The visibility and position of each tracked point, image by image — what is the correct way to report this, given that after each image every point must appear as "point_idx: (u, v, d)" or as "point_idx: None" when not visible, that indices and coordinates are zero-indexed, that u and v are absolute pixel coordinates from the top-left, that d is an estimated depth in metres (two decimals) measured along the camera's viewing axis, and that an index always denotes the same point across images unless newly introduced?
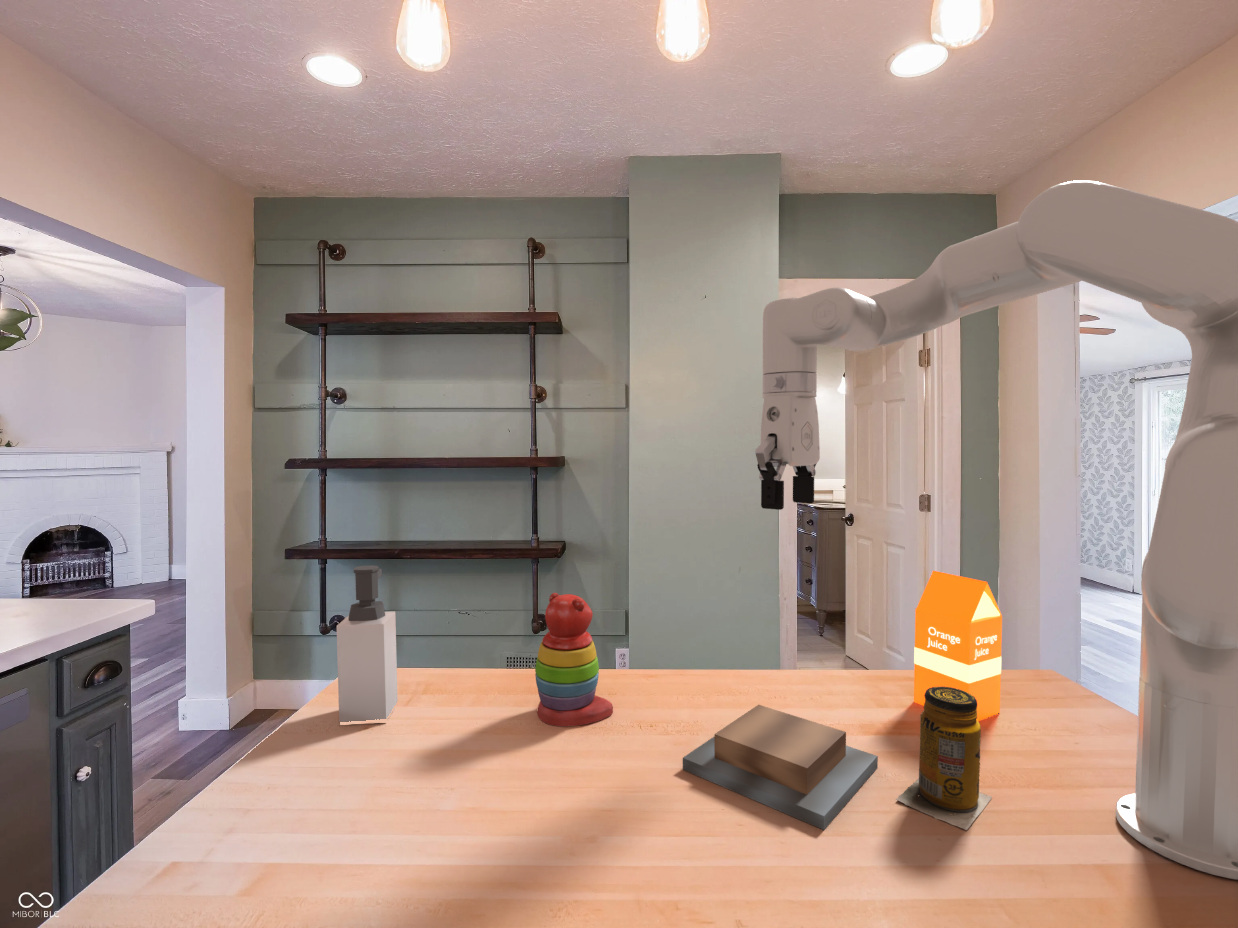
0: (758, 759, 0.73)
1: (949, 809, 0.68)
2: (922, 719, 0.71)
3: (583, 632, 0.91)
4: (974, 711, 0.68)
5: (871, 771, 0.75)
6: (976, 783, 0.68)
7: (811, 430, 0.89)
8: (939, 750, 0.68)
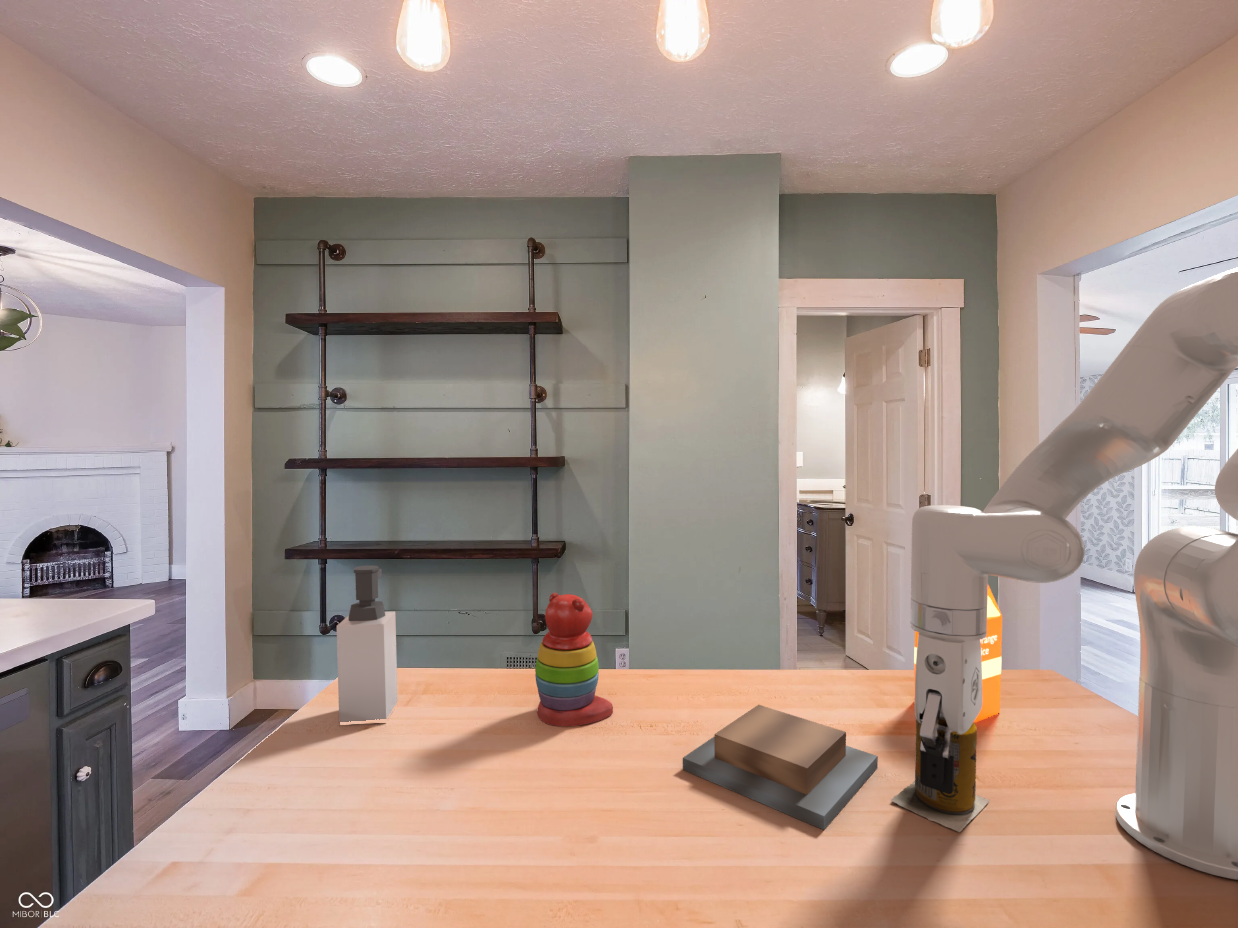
0: (758, 759, 0.73)
1: (944, 811, 0.68)
2: None
3: (583, 632, 0.91)
4: None
5: (871, 771, 0.75)
6: (972, 785, 0.68)
7: (978, 674, 0.69)
8: None
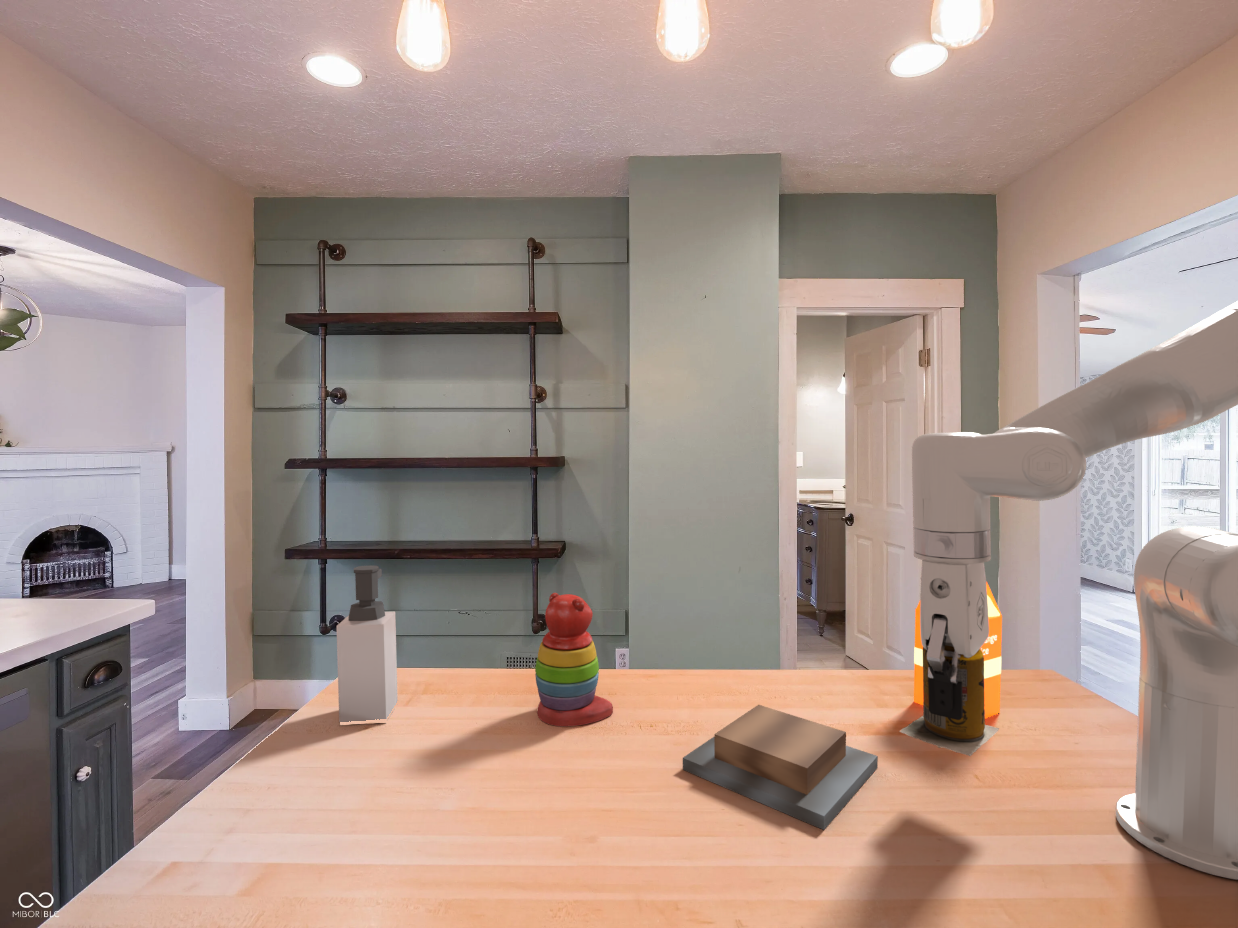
0: (758, 759, 0.73)
1: (953, 739, 0.67)
2: (924, 650, 0.70)
3: (583, 632, 0.91)
4: None
5: (871, 771, 0.75)
6: (981, 712, 0.67)
7: (983, 600, 0.68)
8: None
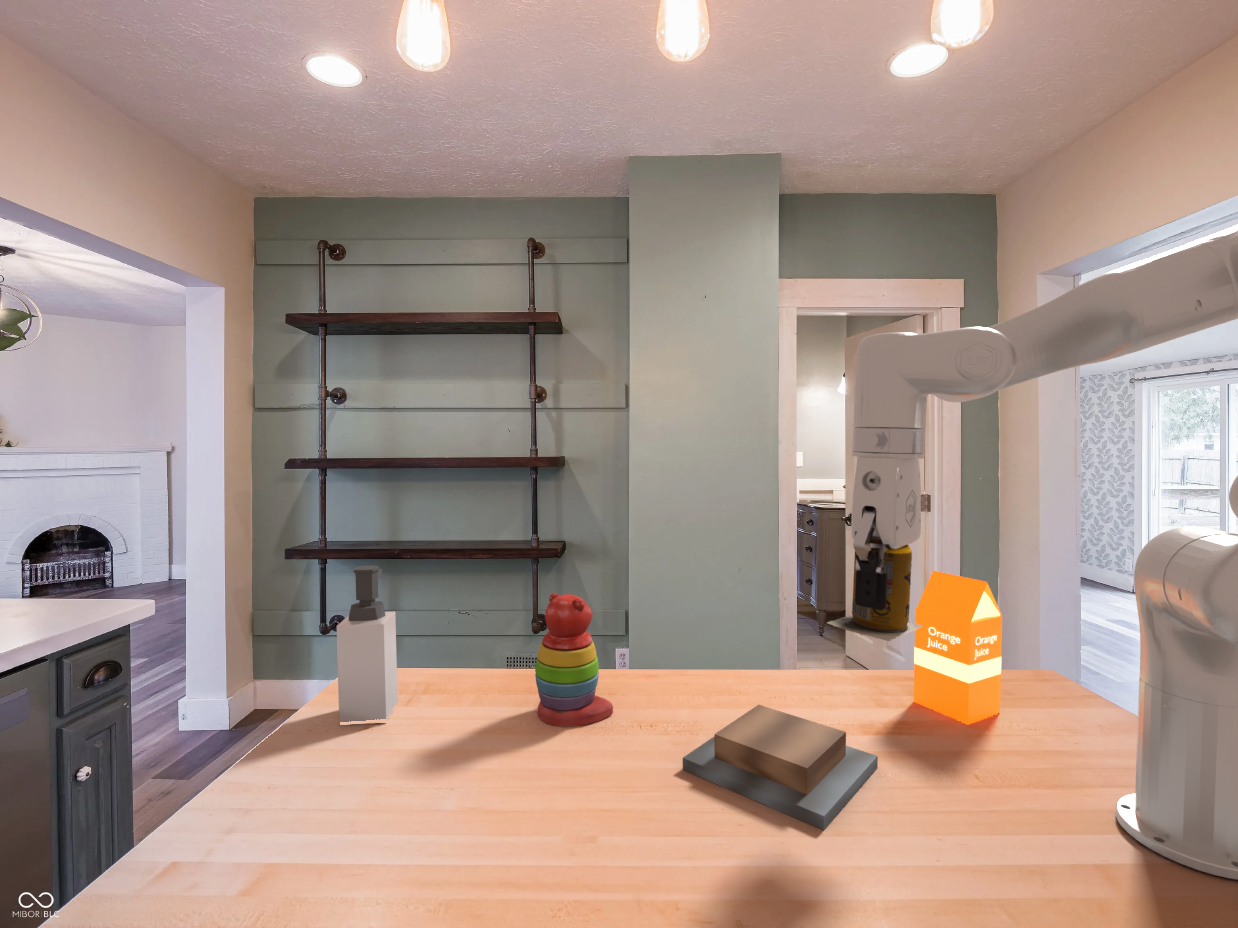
0: (758, 759, 0.73)
1: (876, 630, 0.69)
2: None
3: (583, 632, 0.91)
4: None
5: (871, 771, 0.75)
6: (905, 605, 0.69)
7: (915, 499, 0.70)
8: None
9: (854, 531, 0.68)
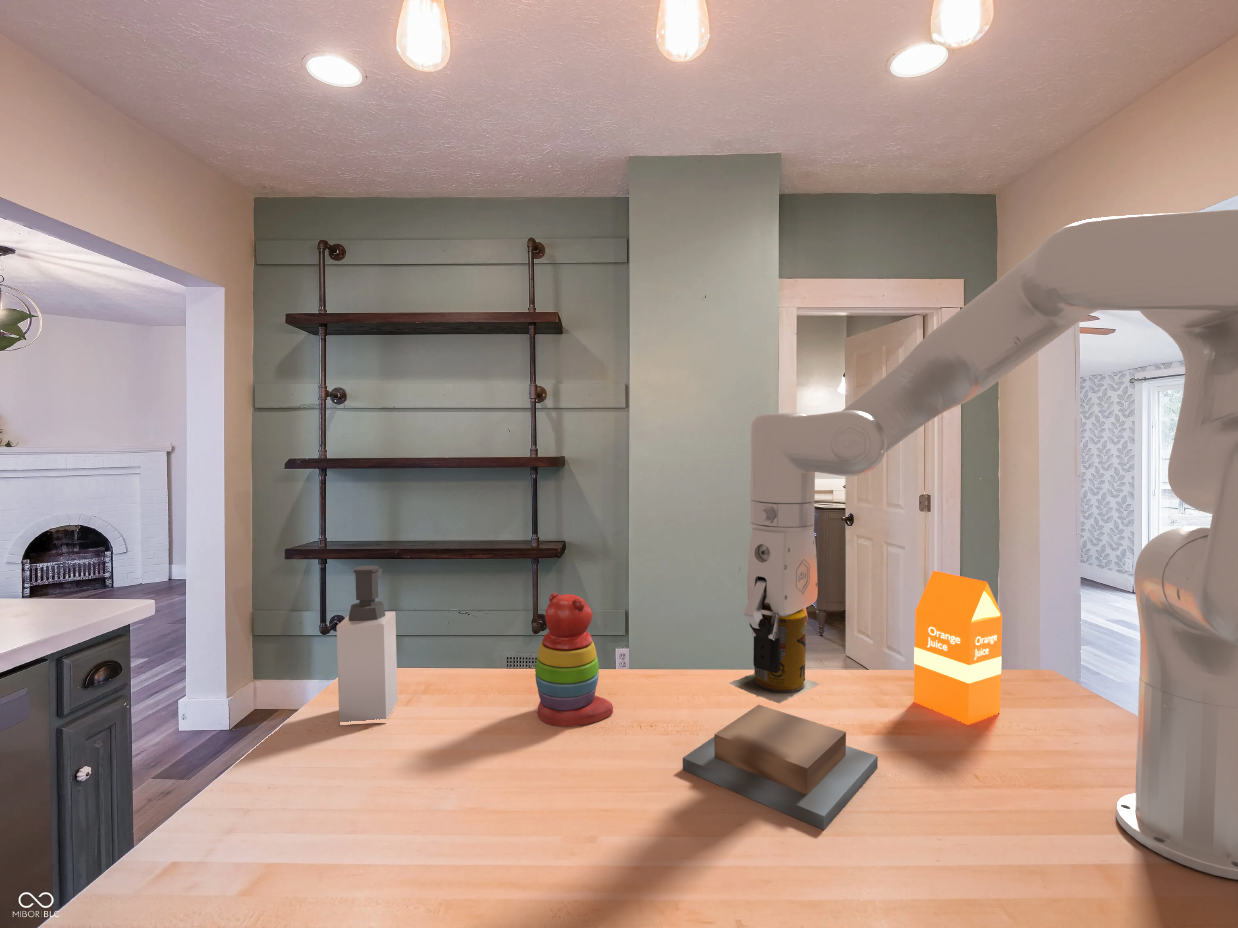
0: (758, 759, 0.73)
1: (773, 690, 0.74)
2: None
3: (583, 632, 0.91)
4: None
5: (871, 771, 0.75)
6: (799, 667, 0.74)
7: (808, 567, 0.75)
8: None
9: (749, 599, 0.73)
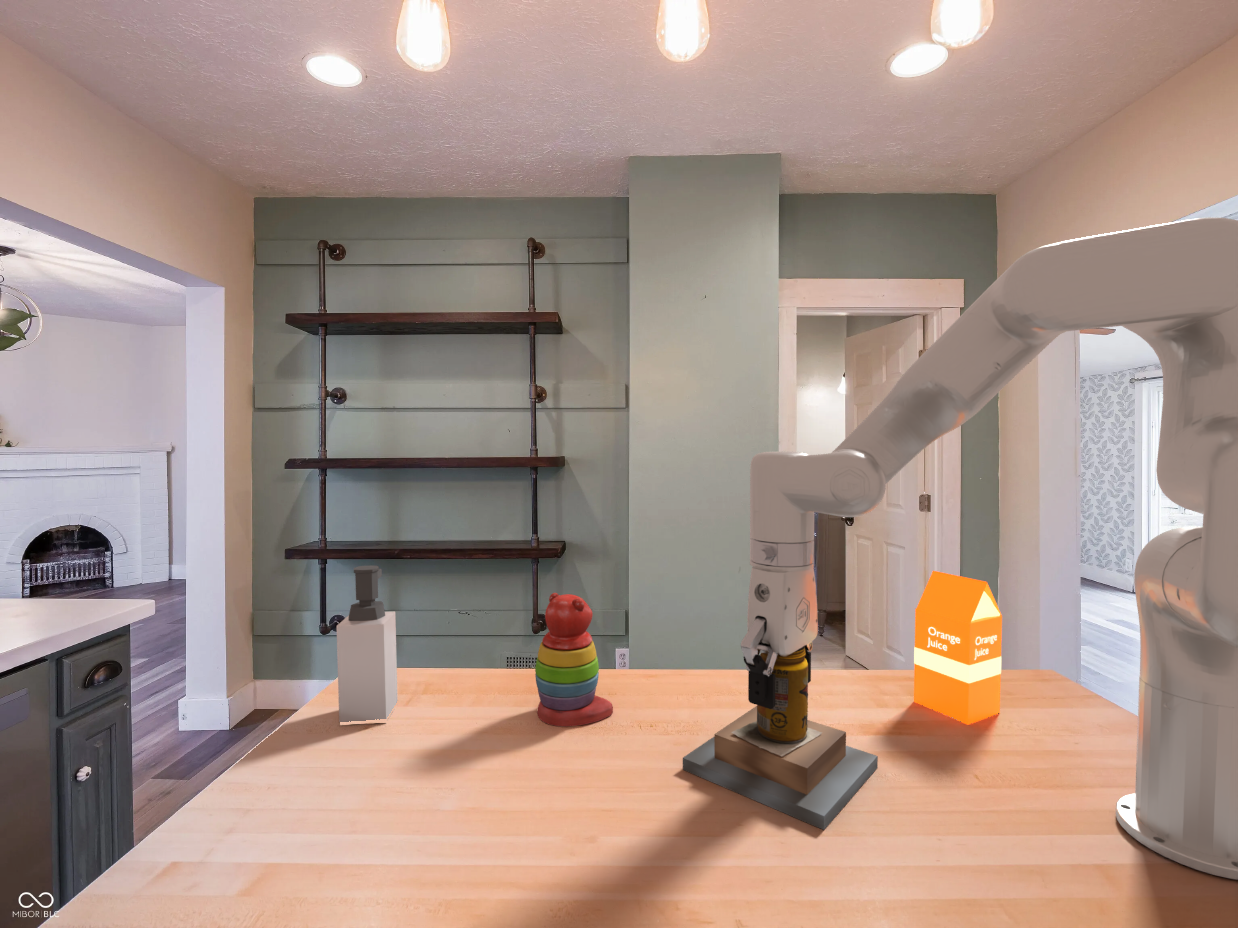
0: (758, 759, 0.73)
1: (775, 741, 0.74)
2: None
3: (583, 632, 0.91)
4: (799, 651, 0.74)
5: (871, 771, 0.75)
6: (801, 717, 0.74)
7: (808, 604, 0.75)
8: None
9: None
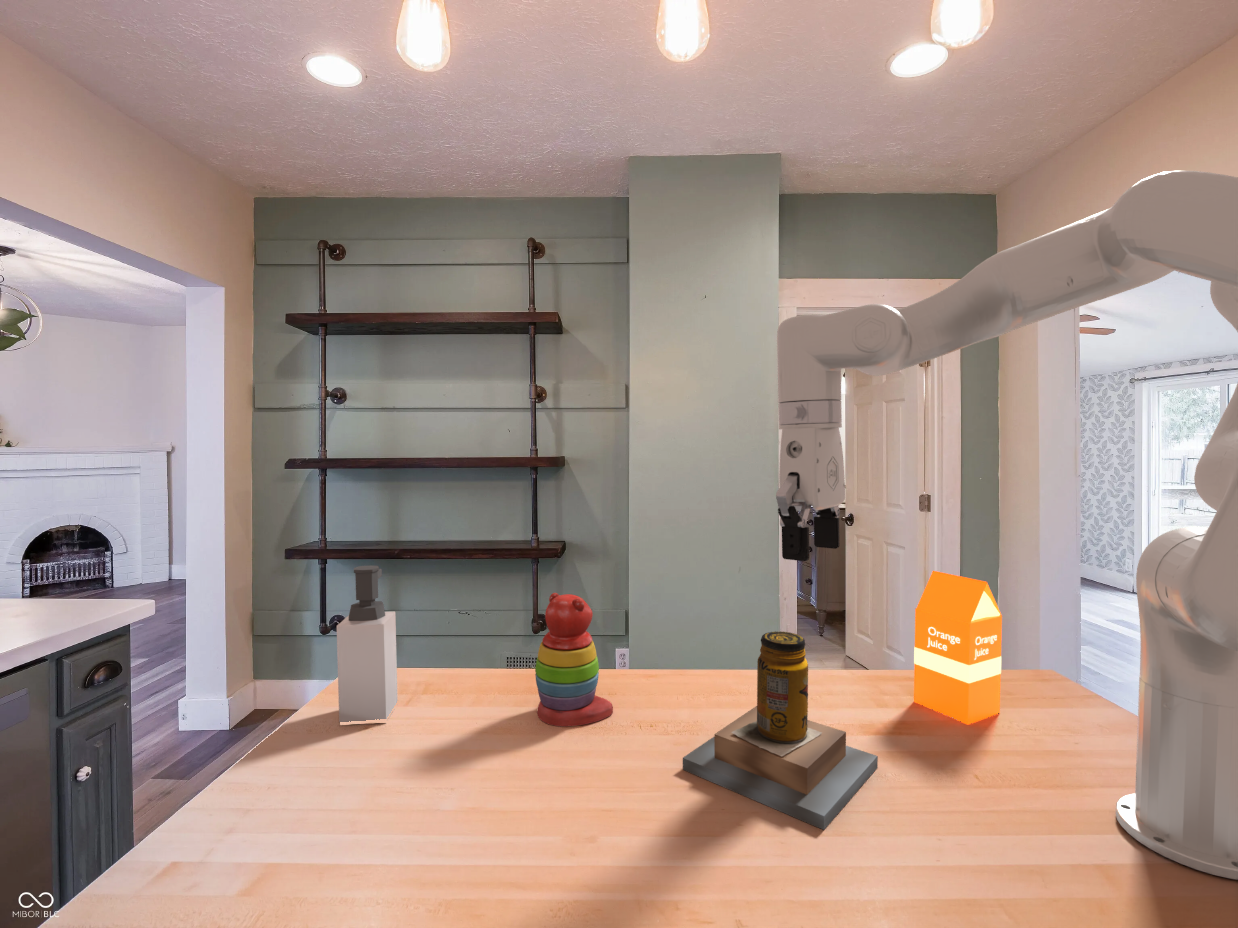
0: (758, 759, 0.73)
1: (775, 741, 0.74)
2: None
3: (583, 632, 0.91)
4: (799, 651, 0.74)
5: (871, 771, 0.75)
6: (801, 717, 0.74)
7: (837, 465, 0.77)
8: (767, 686, 0.75)
9: None
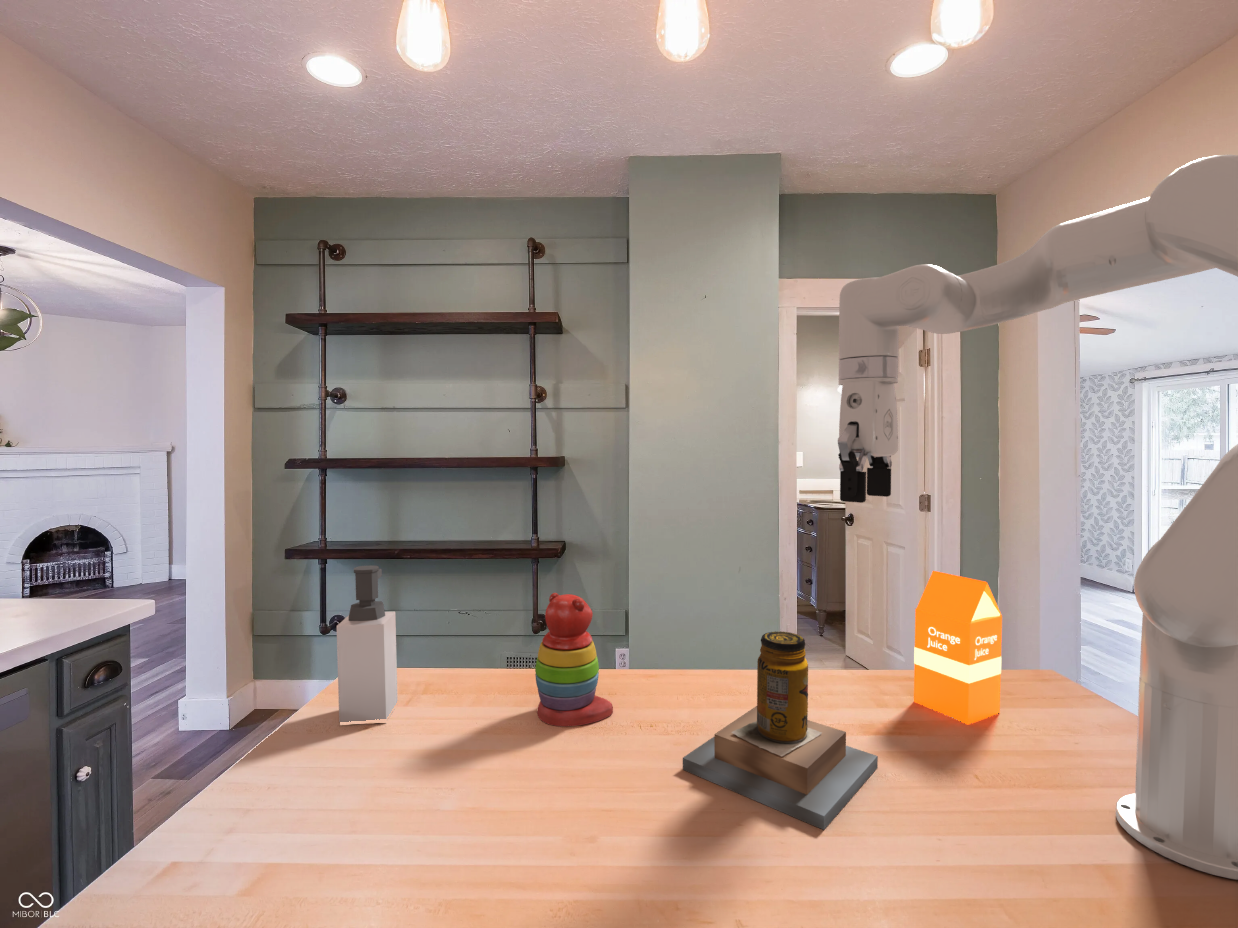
0: (758, 759, 0.73)
1: (775, 741, 0.74)
2: None
3: (583, 632, 0.91)
4: (799, 651, 0.74)
5: (871, 771, 0.75)
6: (801, 717, 0.74)
7: (892, 418, 0.84)
8: (767, 686, 0.75)
9: None
